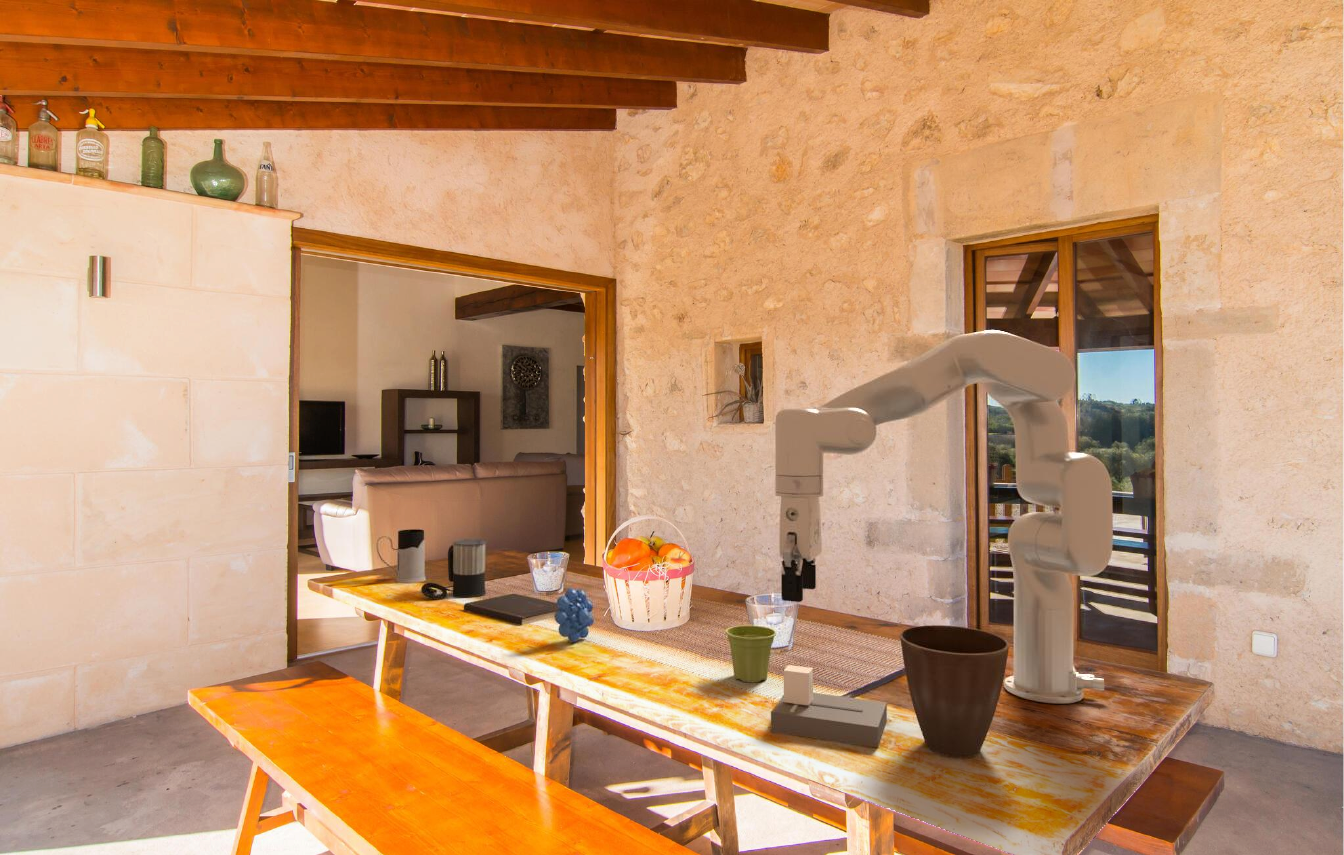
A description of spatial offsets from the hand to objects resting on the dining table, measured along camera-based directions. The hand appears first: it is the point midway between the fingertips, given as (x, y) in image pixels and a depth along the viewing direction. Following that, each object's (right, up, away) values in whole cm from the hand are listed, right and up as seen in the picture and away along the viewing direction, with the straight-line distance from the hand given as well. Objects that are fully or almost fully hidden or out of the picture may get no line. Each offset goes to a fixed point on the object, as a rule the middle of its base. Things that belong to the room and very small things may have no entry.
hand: (799, 594), depth 122 cm
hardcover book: (-59, -21, +72) cm, 96 cm away
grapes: (-41, -20, +44) cm, 63 cm away
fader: (0, -17, 0) cm, 17 cm away
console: (+4, -20, -2) cm, 21 cm away
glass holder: (-102, -20, +111) cm, 152 cm away
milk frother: (-80, -20, +90) cm, 123 cm away
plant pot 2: (+21, -20, -10) cm, 31 cm away
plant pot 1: (-6, -20, +21) cm, 30 cm away
